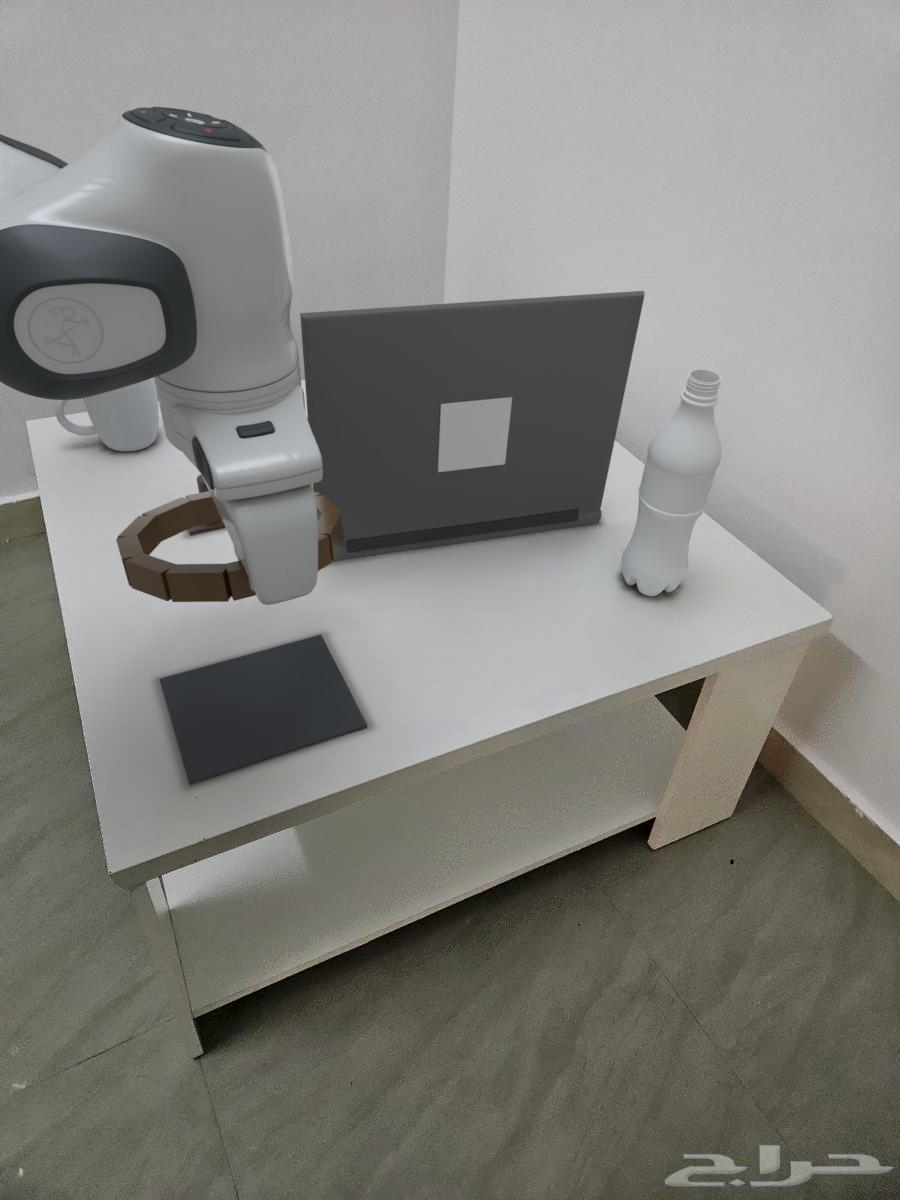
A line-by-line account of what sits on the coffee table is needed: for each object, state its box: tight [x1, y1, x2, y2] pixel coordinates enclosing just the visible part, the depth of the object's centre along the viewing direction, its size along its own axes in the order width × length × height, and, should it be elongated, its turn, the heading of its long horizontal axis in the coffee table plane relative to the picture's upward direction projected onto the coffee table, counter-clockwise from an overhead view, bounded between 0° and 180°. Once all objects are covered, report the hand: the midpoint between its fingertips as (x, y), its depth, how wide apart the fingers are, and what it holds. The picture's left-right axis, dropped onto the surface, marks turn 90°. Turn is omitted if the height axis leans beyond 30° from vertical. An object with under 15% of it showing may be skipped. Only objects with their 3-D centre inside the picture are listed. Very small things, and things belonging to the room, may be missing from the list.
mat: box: [159, 634, 368, 786], centre depth 76 cm, size 16×13×1 cm
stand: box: [187, 474, 226, 536], centre depth 97 cm, size 7×7×5 cm
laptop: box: [299, 290, 646, 562], centre depth 97 cm, size 35×28×28 cm
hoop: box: [115, 491, 344, 603], centre depth 68 cm, size 18×18×2 cm
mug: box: [54, 378, 160, 452], centre depth 106 cm, size 13×9×10 cm
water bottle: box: [621, 368, 722, 597], centre depth 84 cm, size 7×7×25 cm
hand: (255, 572), depth 61 cm, fingers closed on hoop, 2 cm apart
